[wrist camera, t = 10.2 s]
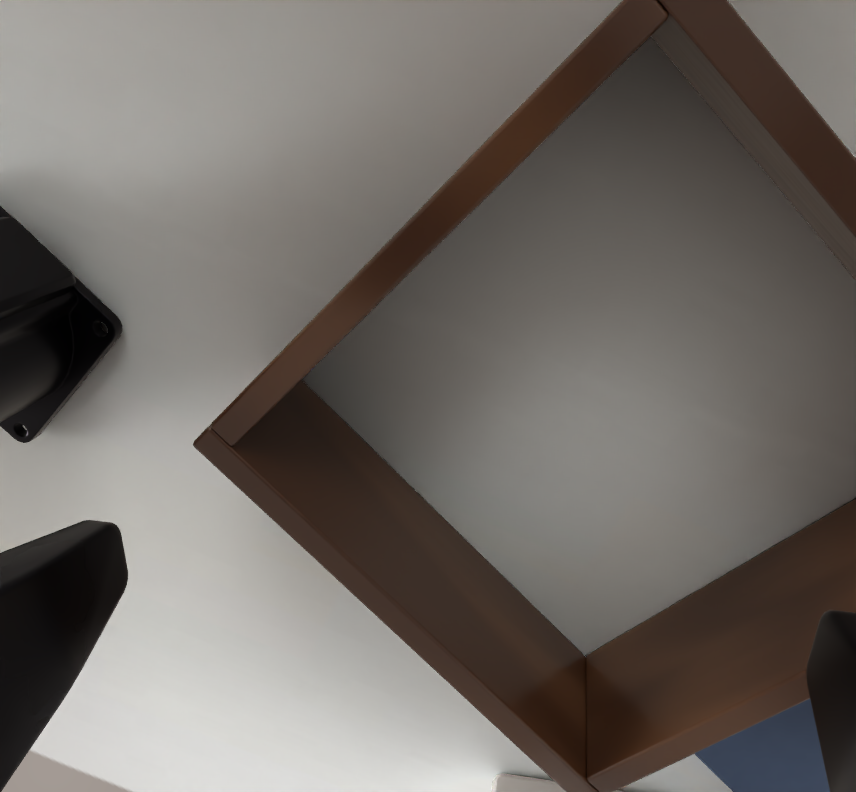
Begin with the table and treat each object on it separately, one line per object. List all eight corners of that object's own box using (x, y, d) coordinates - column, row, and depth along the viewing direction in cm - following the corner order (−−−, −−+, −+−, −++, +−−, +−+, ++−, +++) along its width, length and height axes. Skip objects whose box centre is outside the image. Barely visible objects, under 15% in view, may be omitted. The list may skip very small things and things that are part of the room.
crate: (582, 679, 25) (581, 808, 21) (267, 374, 23) (189, 444, 18) (1025, 429, 19) (1161, 534, 15) (654, -20, 17) (680, -59, 12)
